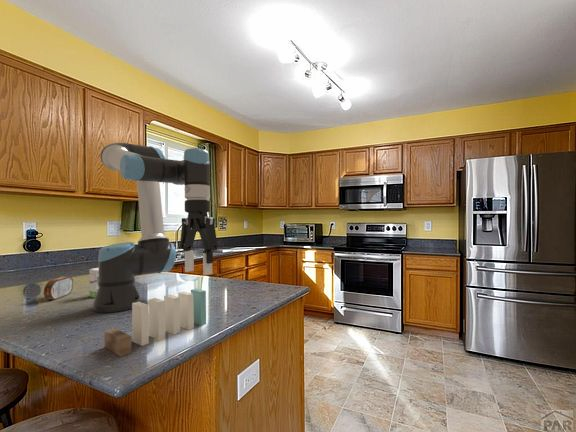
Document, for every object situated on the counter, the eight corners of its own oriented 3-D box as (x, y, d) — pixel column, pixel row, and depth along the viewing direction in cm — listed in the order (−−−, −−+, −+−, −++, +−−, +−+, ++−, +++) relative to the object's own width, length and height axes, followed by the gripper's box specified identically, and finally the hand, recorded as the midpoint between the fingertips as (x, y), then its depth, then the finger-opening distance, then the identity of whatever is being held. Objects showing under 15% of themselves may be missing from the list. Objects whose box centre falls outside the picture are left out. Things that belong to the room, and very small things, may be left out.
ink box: (95, 298, 124) (94, 269, 124) (88, 296, 126) (88, 269, 127) (115, 293, 131) (115, 266, 131) (109, 292, 134) (109, 266, 134)
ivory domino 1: (141, 345, 76) (141, 306, 76) (132, 341, 79) (132, 303, 79) (148, 343, 77) (148, 304, 77) (139, 339, 80) (138, 301, 80)
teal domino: (201, 325, 90) (200, 292, 90) (191, 322, 93) (190, 289, 93) (206, 323, 91) (205, 290, 91) (196, 320, 94) (195, 288, 94)
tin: (67, 293, 134) (67, 274, 134) (74, 293, 134) (74, 274, 134) (42, 302, 119) (42, 281, 119) (51, 302, 119) (51, 281, 119)
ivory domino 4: (188, 329, 86) (188, 295, 86) (178, 326, 89) (178, 292, 89) (193, 327, 88) (193, 293, 88) (183, 324, 91) (183, 291, 91)
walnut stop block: (104, 347, 75) (104, 331, 75) (114, 343, 77) (114, 328, 77) (120, 356, 70) (120, 339, 70) (131, 352, 72) (131, 336, 72)
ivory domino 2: (158, 340, 79) (158, 302, 79) (149, 335, 82) (148, 299, 82) (165, 337, 81) (164, 300, 81) (155, 333, 84) (155, 298, 84)
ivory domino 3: (174, 334, 83) (173, 298, 83) (164, 330, 86) (164, 295, 86) (180, 332, 84) (179, 297, 84) (170, 328, 87) (169, 294, 87)
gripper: (167, 200, 96) (168, 271, 96) (209, 197, 83) (210, 278, 83) (187, 201, 102) (188, 268, 102) (229, 198, 89) (231, 274, 89)
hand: (198, 272), depth 92 cm, fingers open, 9 cm apart
